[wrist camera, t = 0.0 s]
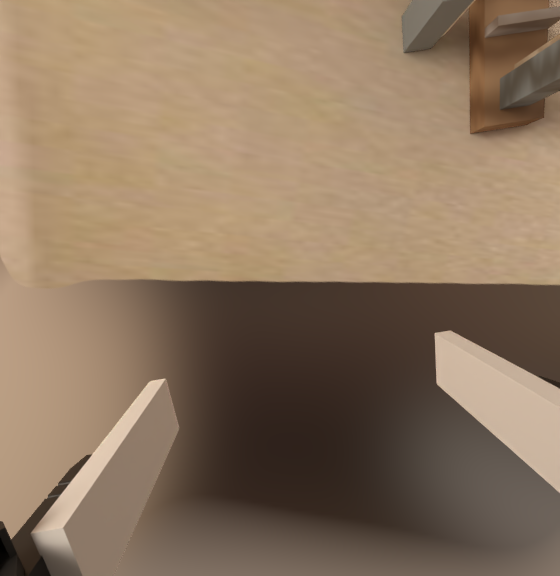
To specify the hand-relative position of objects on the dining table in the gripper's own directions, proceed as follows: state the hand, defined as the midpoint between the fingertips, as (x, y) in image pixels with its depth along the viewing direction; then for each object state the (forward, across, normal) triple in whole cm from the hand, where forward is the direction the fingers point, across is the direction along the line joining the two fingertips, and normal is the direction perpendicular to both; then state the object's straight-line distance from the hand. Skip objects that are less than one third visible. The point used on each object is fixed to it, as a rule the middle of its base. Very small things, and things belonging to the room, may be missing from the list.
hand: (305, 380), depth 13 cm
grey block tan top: (+28, +23, +29) cm, 46 cm away
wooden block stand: (+28, +34, +25) cm, 51 cm away
